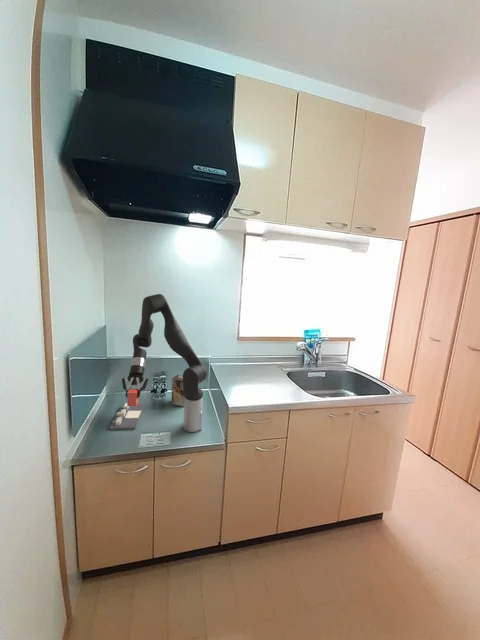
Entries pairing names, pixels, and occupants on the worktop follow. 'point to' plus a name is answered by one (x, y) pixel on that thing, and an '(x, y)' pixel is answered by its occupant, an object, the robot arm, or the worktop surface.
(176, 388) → the coffee box
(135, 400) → the coral red square block
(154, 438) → the worktop surface
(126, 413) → the panel
